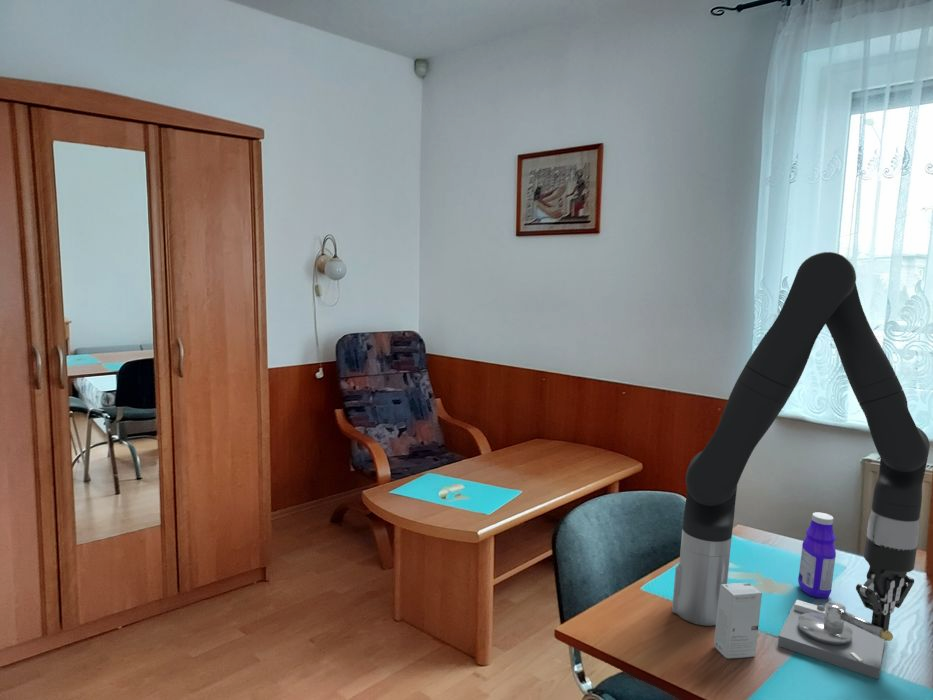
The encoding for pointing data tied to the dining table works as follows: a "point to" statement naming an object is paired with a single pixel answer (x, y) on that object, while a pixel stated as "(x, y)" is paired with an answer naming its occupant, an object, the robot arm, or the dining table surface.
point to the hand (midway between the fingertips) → (879, 630)
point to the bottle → (818, 557)
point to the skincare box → (737, 620)
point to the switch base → (853, 656)
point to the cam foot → (836, 625)
